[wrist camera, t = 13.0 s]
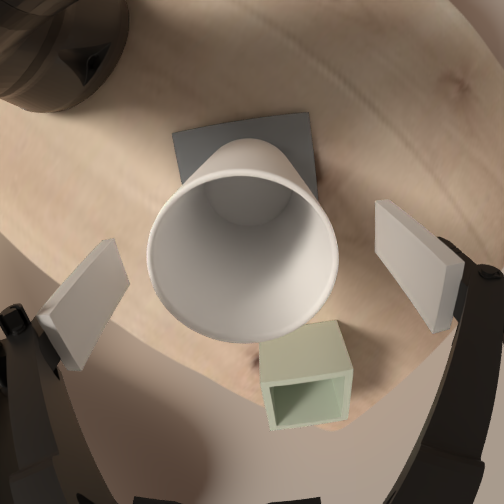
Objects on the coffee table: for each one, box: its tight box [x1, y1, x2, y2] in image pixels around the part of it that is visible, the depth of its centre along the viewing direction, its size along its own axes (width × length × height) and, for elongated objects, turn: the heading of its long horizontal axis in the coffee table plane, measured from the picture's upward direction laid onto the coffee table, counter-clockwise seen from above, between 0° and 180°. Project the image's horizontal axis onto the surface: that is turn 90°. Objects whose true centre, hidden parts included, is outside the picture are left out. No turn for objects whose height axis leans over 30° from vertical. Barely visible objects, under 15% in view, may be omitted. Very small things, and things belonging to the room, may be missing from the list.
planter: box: [259, 320, 353, 431], centre depth 33 cm, size 9×9×8 cm
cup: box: [147, 138, 339, 344], centre depth 20 cm, size 8×8×16 cm
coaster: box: [172, 112, 318, 201], centre depth 28 cm, size 12×12×1 cm
